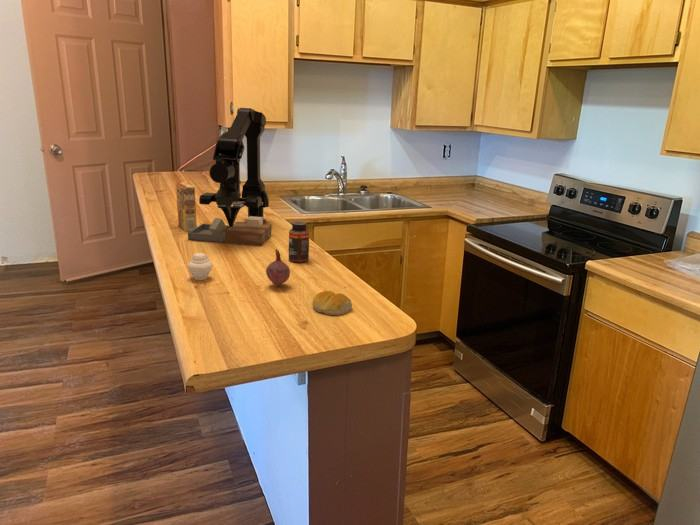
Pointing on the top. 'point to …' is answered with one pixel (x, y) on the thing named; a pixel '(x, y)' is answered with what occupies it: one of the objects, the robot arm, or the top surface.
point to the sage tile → (217, 227)
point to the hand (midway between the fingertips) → (231, 226)
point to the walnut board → (247, 234)
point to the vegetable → (278, 271)
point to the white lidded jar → (199, 266)
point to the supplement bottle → (298, 242)
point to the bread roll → (331, 303)
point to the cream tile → (254, 221)
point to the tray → (205, 234)
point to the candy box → (186, 206)
